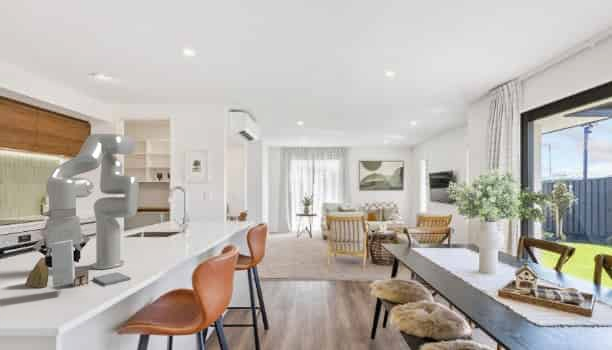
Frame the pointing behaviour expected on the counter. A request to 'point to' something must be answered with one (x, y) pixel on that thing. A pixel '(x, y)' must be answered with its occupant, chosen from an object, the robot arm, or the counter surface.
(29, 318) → the counter surface
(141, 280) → the counter surface
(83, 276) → the walnut letter cube
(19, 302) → the counter surface
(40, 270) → the rock
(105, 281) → the slate mat
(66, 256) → the skincare box
